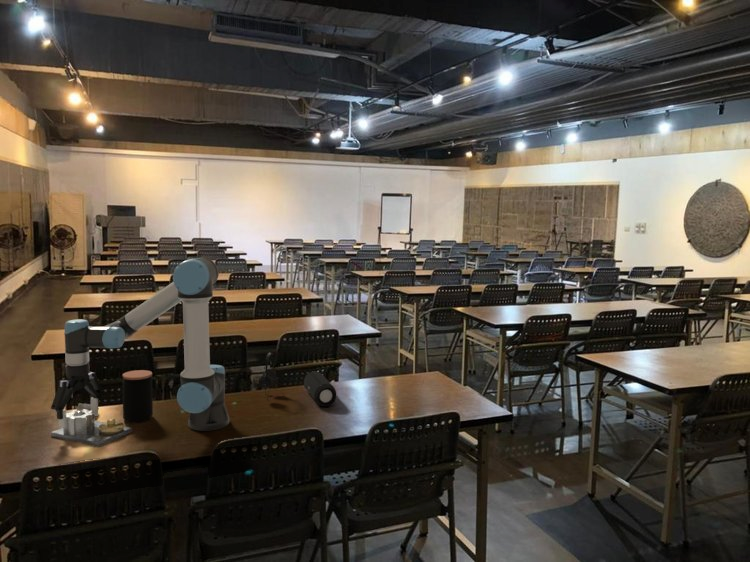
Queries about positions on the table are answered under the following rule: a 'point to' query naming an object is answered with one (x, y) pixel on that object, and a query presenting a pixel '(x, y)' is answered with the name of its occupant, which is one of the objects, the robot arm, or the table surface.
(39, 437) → the table surface
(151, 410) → the coffee jar
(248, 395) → the table surface
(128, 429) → the carrier
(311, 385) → the portable speaker
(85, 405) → the stone
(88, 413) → the planet gear
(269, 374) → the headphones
